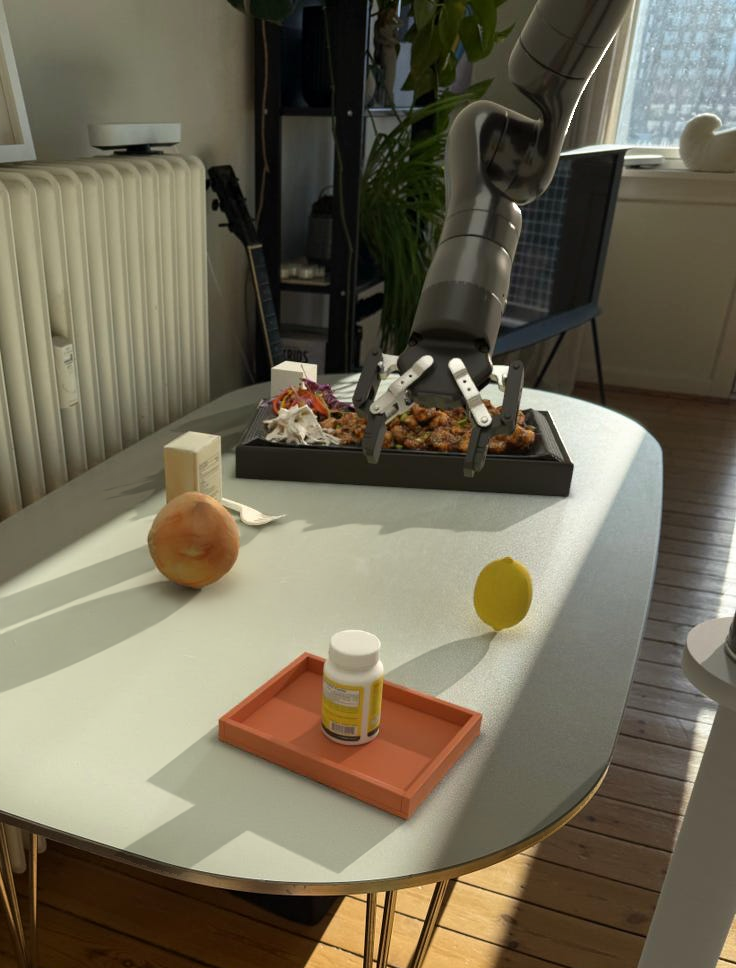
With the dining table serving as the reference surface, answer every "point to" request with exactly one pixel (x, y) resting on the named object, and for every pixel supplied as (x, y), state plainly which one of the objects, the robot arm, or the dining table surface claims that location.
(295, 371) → the off-white cube
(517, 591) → the lemon
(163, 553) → the onion
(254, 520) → the fork
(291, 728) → the tray
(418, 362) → the robot arm
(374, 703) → the supplement bottle
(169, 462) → the cosmetic box
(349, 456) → the food platter
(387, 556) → the dining table surface
